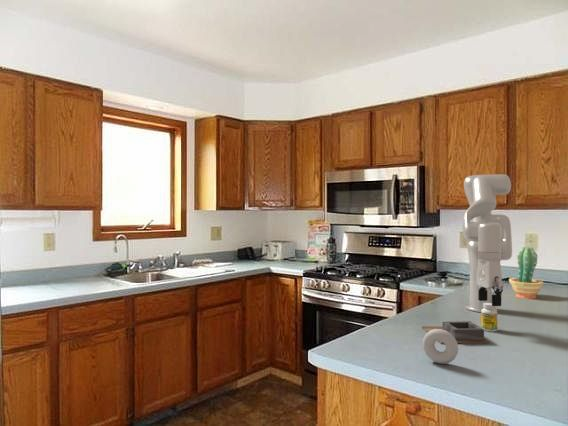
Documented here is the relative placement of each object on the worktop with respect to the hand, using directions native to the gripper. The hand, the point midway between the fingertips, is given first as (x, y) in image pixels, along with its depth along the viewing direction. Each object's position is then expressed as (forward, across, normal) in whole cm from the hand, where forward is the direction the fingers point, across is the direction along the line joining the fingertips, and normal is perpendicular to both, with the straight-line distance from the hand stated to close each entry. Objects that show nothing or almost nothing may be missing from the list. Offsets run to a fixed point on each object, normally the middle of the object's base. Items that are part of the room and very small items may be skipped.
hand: (489, 303), depth 154 cm
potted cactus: (+8, -56, +47) cm, 74 cm away
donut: (+12, +31, -31) cm, 45 cm away
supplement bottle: (+10, -1, 0) cm, 10 cm away
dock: (+10, +5, -16) cm, 19 cm away
